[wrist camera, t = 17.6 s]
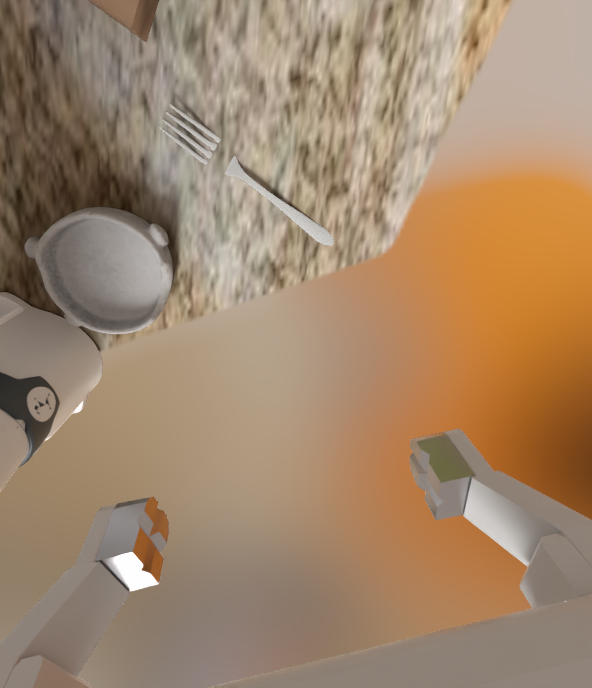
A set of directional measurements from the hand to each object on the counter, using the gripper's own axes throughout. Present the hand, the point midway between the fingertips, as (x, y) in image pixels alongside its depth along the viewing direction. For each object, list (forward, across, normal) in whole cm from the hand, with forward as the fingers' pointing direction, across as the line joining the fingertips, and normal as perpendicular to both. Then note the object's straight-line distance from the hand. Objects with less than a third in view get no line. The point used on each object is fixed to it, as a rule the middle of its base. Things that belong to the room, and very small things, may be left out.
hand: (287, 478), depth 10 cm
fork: (+34, -2, -4) cm, 34 cm away
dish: (+34, +17, 0) cm, 38 cm away
